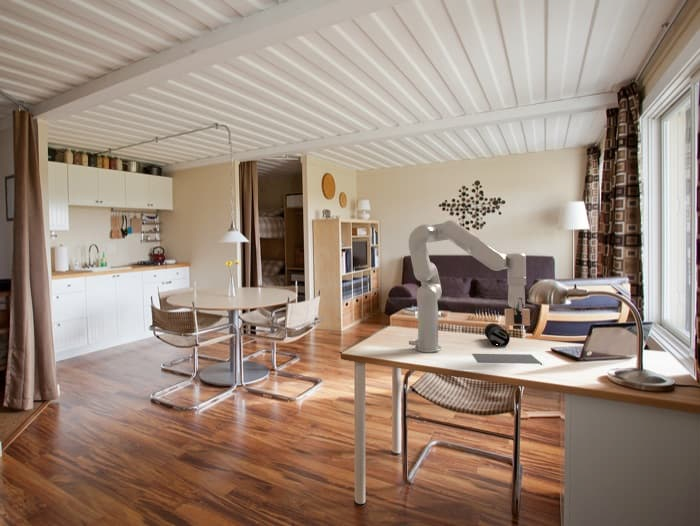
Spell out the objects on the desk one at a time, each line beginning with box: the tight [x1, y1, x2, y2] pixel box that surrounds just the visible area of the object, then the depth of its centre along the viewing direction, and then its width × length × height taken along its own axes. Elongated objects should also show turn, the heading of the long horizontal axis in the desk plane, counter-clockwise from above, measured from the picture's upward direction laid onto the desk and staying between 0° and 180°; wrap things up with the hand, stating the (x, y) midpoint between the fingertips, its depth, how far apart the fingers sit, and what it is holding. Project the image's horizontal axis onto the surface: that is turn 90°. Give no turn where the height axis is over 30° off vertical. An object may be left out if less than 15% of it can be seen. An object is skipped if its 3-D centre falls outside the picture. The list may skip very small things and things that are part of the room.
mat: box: [471, 353, 543, 366], centre depth 178 cm, size 26×14×1 cm, turn 83°
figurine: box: [484, 322, 511, 347], centre depth 208 cm, size 9×9×20 cm
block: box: [504, 308, 531, 327], centre depth 180 cm, size 10×2×7 cm, turn 83°
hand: (517, 322), depth 180 cm, fingers closed on block, 2 cm apart
